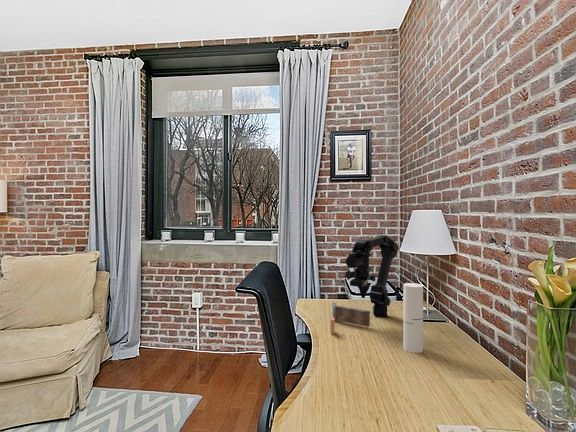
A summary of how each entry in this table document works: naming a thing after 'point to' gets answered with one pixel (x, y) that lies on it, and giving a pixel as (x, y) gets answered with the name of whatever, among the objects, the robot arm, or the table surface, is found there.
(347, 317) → the gate
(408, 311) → the cylindrical container
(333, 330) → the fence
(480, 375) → the table surface
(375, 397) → the table surface
